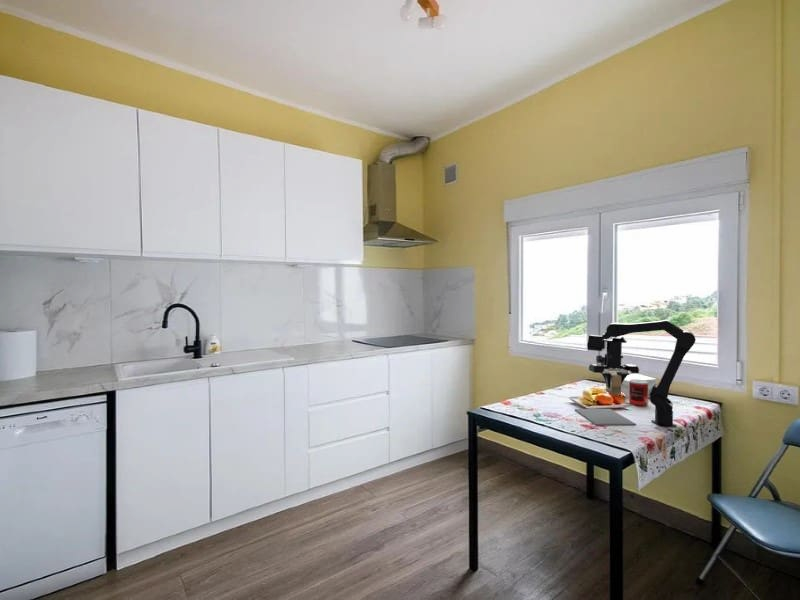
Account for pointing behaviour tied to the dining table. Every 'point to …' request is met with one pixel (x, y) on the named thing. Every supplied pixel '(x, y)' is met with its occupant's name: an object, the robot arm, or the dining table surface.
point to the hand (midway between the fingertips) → (613, 388)
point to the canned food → (638, 392)
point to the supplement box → (640, 377)
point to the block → (614, 384)
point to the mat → (604, 417)
